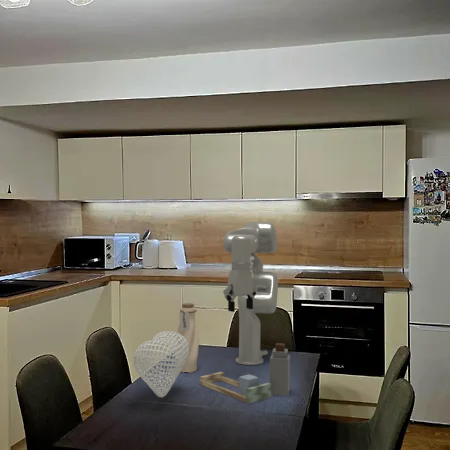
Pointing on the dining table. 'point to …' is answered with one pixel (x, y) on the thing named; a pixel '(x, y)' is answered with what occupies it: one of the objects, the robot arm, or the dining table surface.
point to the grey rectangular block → (247, 383)
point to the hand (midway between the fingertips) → (240, 309)
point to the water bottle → (189, 336)
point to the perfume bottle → (280, 370)
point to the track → (251, 393)
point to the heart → (177, 369)
